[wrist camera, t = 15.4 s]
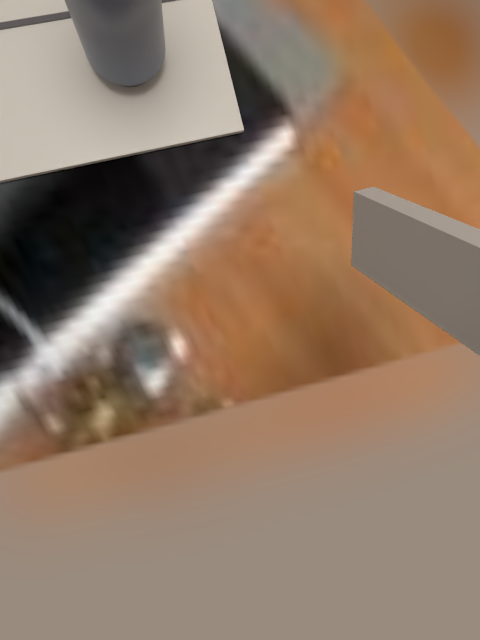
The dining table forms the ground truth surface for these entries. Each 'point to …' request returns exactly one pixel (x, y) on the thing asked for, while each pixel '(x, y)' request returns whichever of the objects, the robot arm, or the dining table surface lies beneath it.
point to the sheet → (105, 91)
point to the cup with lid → (121, 38)
